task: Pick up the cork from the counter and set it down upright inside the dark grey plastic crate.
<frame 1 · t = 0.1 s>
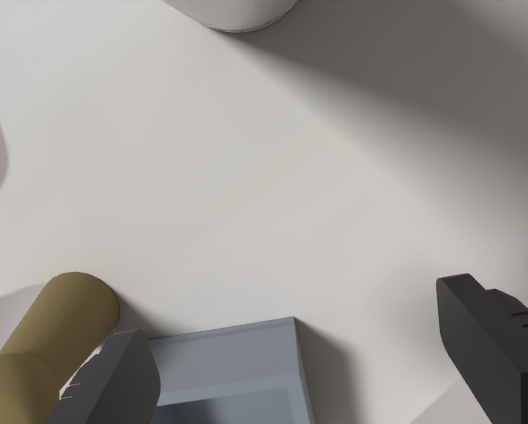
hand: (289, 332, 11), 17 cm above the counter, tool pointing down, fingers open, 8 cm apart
cork: (81, 304, 31), on the counter
crate: (235, 387, 34), on the counter
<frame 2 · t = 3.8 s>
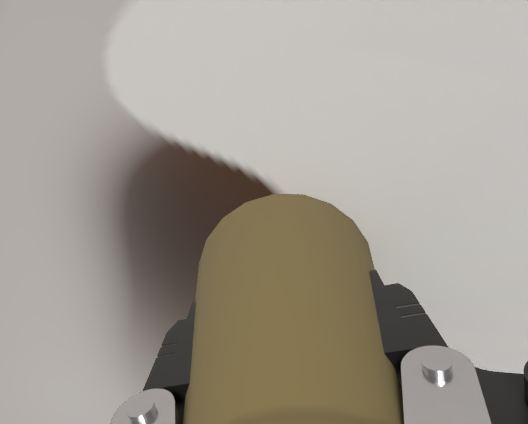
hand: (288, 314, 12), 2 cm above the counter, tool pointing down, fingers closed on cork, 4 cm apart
cork: (285, 274, 14), on the counter, touching gripper
when the fingers open (5 cm above the counter, at t = 10.0 s): cork drops 1 cm, resting on crate.
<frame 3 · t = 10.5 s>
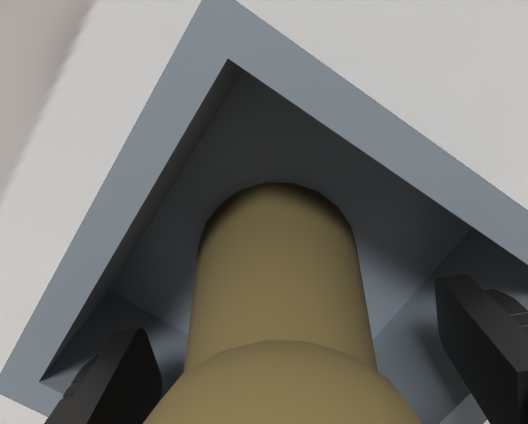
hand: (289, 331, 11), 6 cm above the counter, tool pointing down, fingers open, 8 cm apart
cork: (277, 256, 15), point 1 cm above the counter, touching crate
crate: (284, 248, 16), on the counter
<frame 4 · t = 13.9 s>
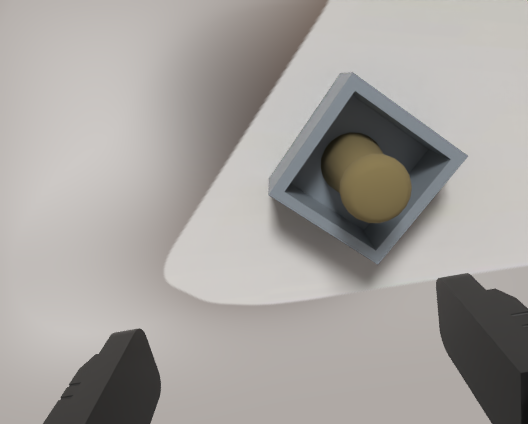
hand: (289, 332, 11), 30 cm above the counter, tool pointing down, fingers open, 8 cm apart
cork: (351, 163, 39), point 1 cm above the counter, touching crate
crate: (352, 161, 40), on the counter
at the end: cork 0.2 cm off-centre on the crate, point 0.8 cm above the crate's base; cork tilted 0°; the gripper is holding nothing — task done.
